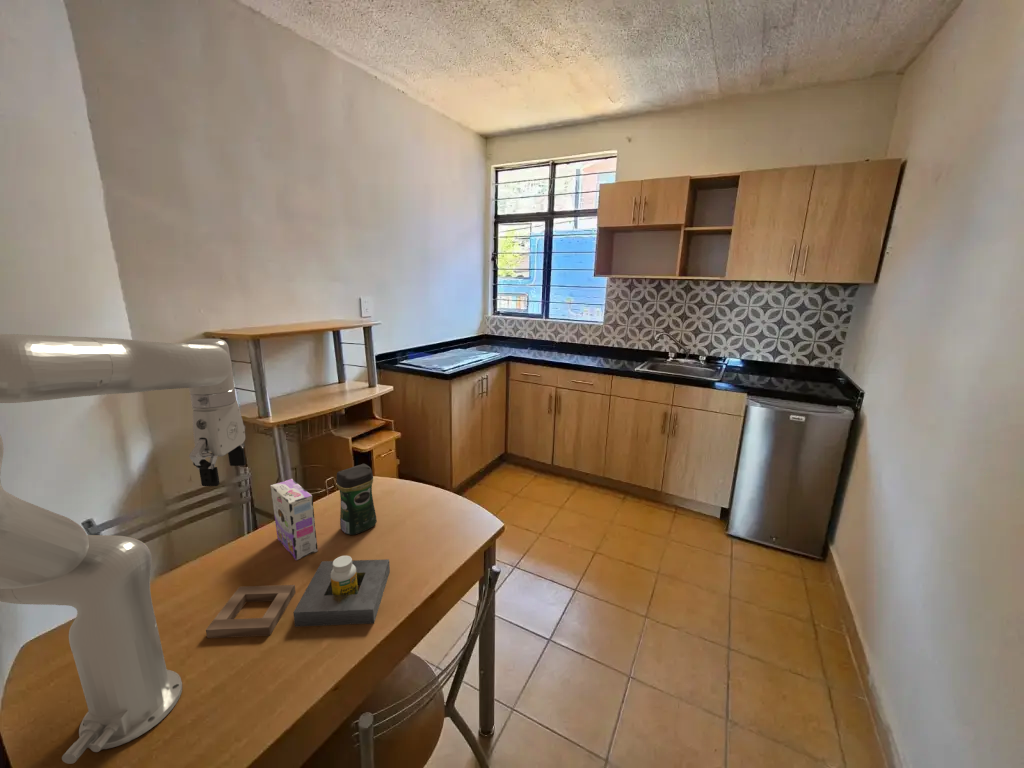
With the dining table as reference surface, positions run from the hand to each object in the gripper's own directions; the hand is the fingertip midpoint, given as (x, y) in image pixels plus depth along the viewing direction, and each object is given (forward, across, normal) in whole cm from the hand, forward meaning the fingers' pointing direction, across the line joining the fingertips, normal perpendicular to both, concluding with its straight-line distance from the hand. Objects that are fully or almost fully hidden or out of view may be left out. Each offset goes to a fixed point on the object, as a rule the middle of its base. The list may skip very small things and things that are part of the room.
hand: (225, 474), depth 90 cm
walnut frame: (+28, -8, -7) cm, 30 cm away
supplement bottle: (+28, -5, -25) cm, 38 cm away
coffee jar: (+28, +24, -20) cm, 42 cm away
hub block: (+28, -4, -25) cm, 38 cm away
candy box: (+28, +16, -6) cm, 33 cm away
